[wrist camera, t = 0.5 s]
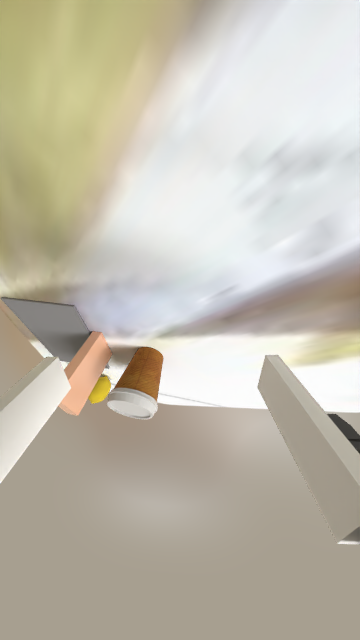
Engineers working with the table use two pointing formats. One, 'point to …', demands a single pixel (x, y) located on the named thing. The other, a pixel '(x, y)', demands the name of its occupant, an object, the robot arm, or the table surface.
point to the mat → (52, 325)
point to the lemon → (100, 390)
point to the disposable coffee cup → (138, 385)
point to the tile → (85, 372)
